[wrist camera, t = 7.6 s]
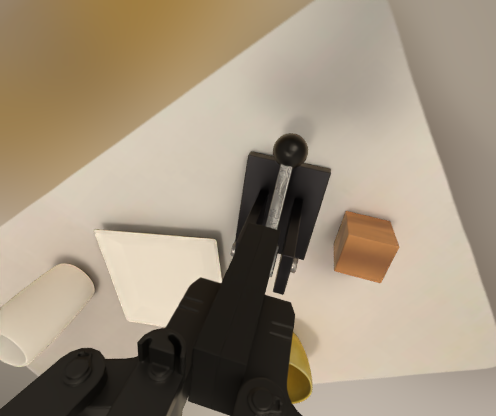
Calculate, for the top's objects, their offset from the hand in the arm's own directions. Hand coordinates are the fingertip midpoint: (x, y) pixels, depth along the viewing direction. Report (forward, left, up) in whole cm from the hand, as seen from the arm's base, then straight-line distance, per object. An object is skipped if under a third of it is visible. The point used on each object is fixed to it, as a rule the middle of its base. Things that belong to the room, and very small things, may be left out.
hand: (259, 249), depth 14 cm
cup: (+32, -31, -21) cm, 49 cm away
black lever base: (+9, 0, -20) cm, 22 cm away
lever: (+5, 0, -14) cm, 15 cm away
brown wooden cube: (+10, +10, -20) cm, 25 cm away
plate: (+26, -14, -21) cm, 36 cm away
